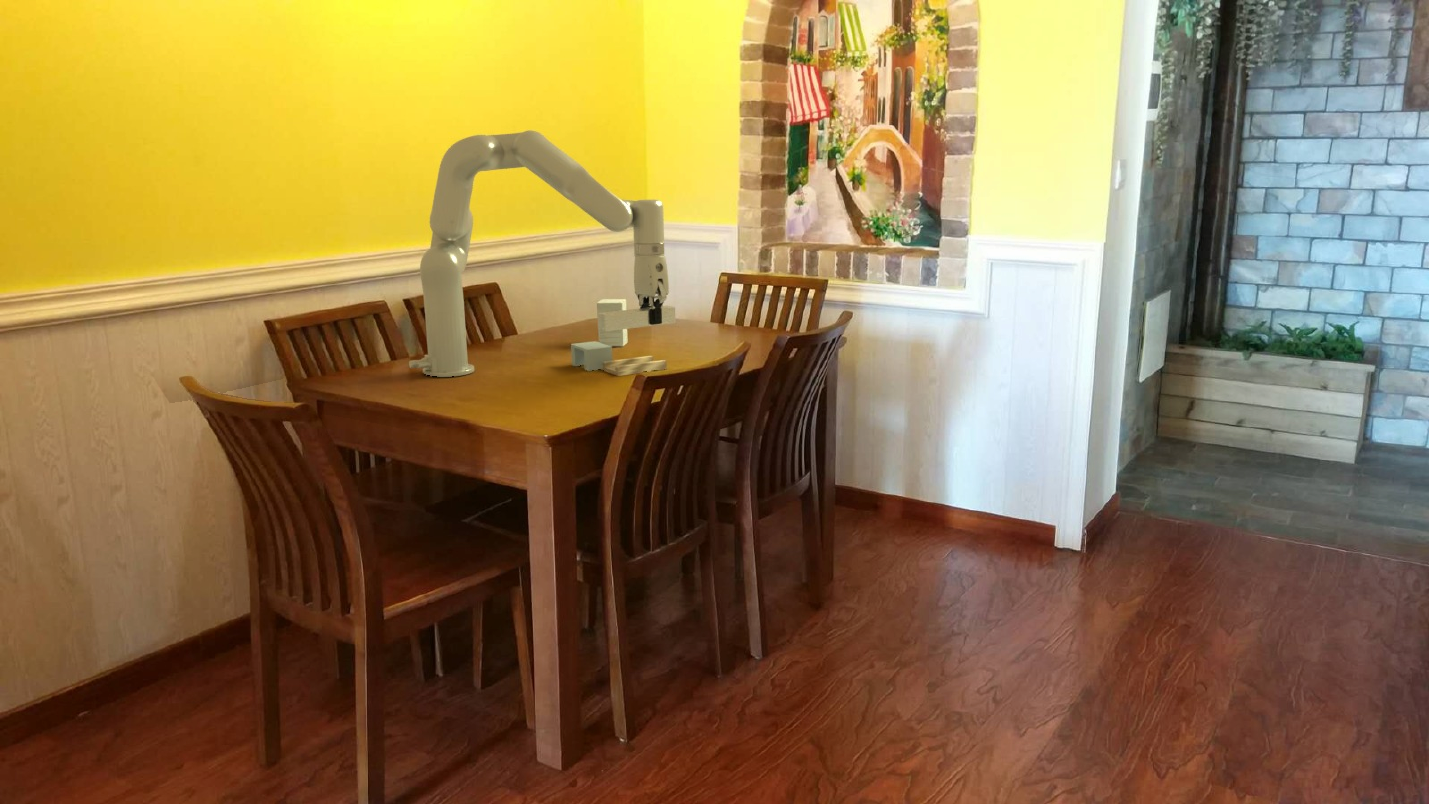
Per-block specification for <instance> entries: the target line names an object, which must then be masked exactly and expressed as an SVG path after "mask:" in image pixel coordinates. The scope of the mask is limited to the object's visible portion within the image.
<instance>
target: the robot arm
mask: <svg viewBox="0 0 1429 804" xmlns="http://www.w3.org/2000/svg"><path fill="white" fill-rule="evenodd" d="M519 168H526V169H527V170H528V171H530V172H531V173H532V174H534V175H535V176H537V177H538V178H539V179H541V180H542V181H544V182H545V183H546V184H547V185H548V186H550V187H551V188H552V189H554V190H555V191H556V192H557V193H559V194H560V195H562V196H563V197H564V198H566V199H567V200H568V201H570V202H572V203H573V204H574V205H576V206H577V207H578V208H580V209H581V210H582V211H584V212H585V213H586V214H587V215H589V216H590V217H592V219H594V220H595V221H596V222H598V223H599V224H601V225H602V226H604V228H606V229H607V230H609V231H611V232H613V233H620V232H624V231H626V230H627V229H629V228H630V229H631V228H633V230H632V231H633V252H634V253H633V255H634V256H633V257H634V265H633V266H634V267H633V270H634V271H633V286H634V287H633V288H634V293H635V295H636V297H637V299H638V306H639V309H640V308H649V307H651V309H650V324H651V325H654V326H656V325H655V324H661V323H662V307H663V306H664V305H663V304H664V303H665V301H666V300H667V299H668V298H667V296H668V295H669V293H670V288H669V274H668V264H667V260H666V256H665V228H664V227H665V226H664V220H665V219H664V205H663V202H662V201H661V200H659V199H638V200H637V199H636V200H630V199H624V198H622V199H621V198H619V196H617V195H615V194H614V193H613V192H611V191H610V190H608V188H606V187H605V186H603V185H602V184H601V183H600V182H599V181H597V180H596V179H595V178H594V177H593V176H592V175H591V174H590V172H589V171H588V170H587V169H586V168H585V167H584V166H582V165H581V164H580V163H579V162H578V161H576V160H574V159H573V158H572V157H571V156H570V155H568V154H567V153H566V152H564V151H563V150H562V149H560V148H559V147H558V146H556V145H555V144H554V143H552V141H550V140H549V139H548V138H547V137H545V136H544V135H543V133H541V132H538V131H536V130H525V131H523V132H513V133H504V134H503V133H501V134H490V135H489V134H488V135H486V134H475V135H470V136H468V137H463V138H462V139H460V140H458V141H456V142H455V143H453V144H452V145H450V147H448V149H447V150H446V151H445V153H444V155H443V156H442V159H441V161H440V165H439V169H438V174H437V180H436V185H435V189H434V195H433V200H432V206H431V212H430V216H429V226H430V230H431V232H432V235H431V240H430V241H431V242H430V248H429V249H427V250H426V251H425V253H424V254H423V256H422V258H421V261H420V265H419V272H420V273H419V274H420V281H421V287H422V294H423V296H422V297H423V307H424V314H425V315H424V317H425V330H426V345H427V354H424V355H423V356H424V357H422V358H421V359H412V360H408V366H409V368H410V369H422V374H423V373H424V374H426V375H425V376H427V375H430V376H429V377H432V376H437V377H436V378H452V376H454V377H460V376H465V375H469V374H472V373H474V372H475V365H473V364H470V363H468V360H469V359H468V349H467V348H468V346H467V332H466V318H465V317H466V316H465V314H466V313H465V301H464V290H463V282H462V274H463V273H464V271H465V269H466V267H467V264H468V263H467V262H468V257H469V251H470V245H471V239H472V235H473V234H472V233H473V232H472V231H473V225H474V218H473V217H474V216H473V212H472V210H471V209H470V204H471V199H472V193H473V188H474V187H473V186H474V181H475V177H476V175H477V174H478V173H481V172H489V171H496V170H505V169H506V170H507V169H519ZM424 374H423V375H424Z"/></svg>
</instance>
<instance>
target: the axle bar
mask: <svg viewBox="0 0 1429 804" xmlns="http://www.w3.org/2000/svg"><path fill="white" fill-rule="evenodd" d="M650 309H651V307H649V308H640V307H639V308H632V309H626V310H622V311H612V312H603V313H597V314H596V315H597V330H598V329H599V330H602V331H613V330H621V329H627V330H630V329H635V328H636V329H637V328H647V327H653V326H661V325H669V324H676V307H675V306H671V305H663V307H662V323H661V324H655V325H651V324H650Z"/></svg>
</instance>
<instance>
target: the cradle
mask: <svg viewBox="0 0 1429 804" xmlns="http://www.w3.org/2000/svg"><path fill="white" fill-rule="evenodd" d="M664 369H665V370H667V369H668V365H667V360H665V359H663V360H661V359H660V360H654V356H653V355H647V356H638V357H631V358H624V359H615V360H613V361H607V362H603V369H602V371H603V370H604V372H606V373H609V374H611V375H614V376H616V377H620V376H628V375H629V376H630V375H636V374H643V373H645V372H643V371H647V372H646V373H651V372H652V371H651V370H658V371H663V370H664ZM665 370H664V371H665Z"/></svg>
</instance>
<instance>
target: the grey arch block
mask: <svg viewBox="0 0 1429 804" xmlns="http://www.w3.org/2000/svg"><path fill="white" fill-rule="evenodd" d="M570 355H571V357H570V358H571V366H573V367H579V366H580V365H581V366H584V370H585V371H586V370H587V371H586V372H592V370H594V371H599V370H598V369H601V370H603V362H607V361H614V360H613V346H608V345H605V344H602V343H599V341H587V342H577V343H576V342H575V343H571V344H570Z"/></svg>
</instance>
